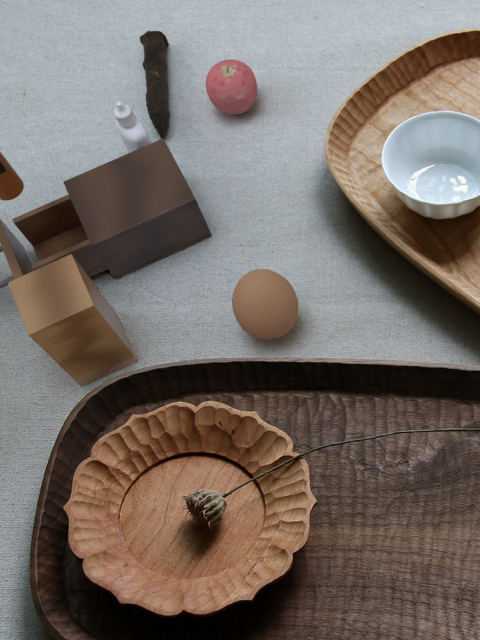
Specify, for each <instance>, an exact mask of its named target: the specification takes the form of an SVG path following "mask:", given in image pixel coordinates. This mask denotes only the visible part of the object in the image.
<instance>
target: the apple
mask: <svg viewBox="0 0 480 640" xmlns="http://www.w3.org/2000/svg"><path fill="white" fill-rule="evenodd" d="M205 90H206V94H207V96H208V99H209V101H210V102H211V103H212V105H214V107H216V108H217V109H218V110H220V111H221V112H223V113H226V114H228V115H240V114H243V113H246V112H247V111H248V110H250V109H251V108H252V106H253V105H254V103H255V102H256V98H257V94H258V83H257V79H256V76H255V74H254V71H253V70H252V68H251V67H250V66H249V65H248V64H247V63H246V62H243V61H241V60H238V59H232V58H231V59H229V58H228V59H223V60H220V61H218V62H217V63H215V64H214V65H213V66H211V68H210V70H209V71H207V75H206V77H205Z"/></svg>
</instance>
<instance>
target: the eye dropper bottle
mask: <svg viewBox="0 0 480 640" xmlns="http://www.w3.org/2000/svg"><path fill="white" fill-rule="evenodd" d="M115 105H116V107H115V108H114V110H113V115H114V117H115V121H114V122H115V123H114V124H115V127H116V130H117V132H118V134H119V135H120V139H122V141H123V143H124V145H125V147H126V149H127V151H128V153H130V152H133V151H135V150H137V149H139V148H142V147H144V146H146V145H149V144H151V143H153V142H154V141H152V138H151V136H150V134H149V132H148V130H147V128H146V126H145V124H144V123H143V121H141V119H140V118H139V117H137V116H135V115H136V114H135V113H134V112H133V109H132V108H131V106H130V105H128V104H126V103H125V104H124V103H122V102H121V101H117V102H116V103H115Z"/></svg>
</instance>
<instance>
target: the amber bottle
mask: <svg viewBox="0 0 480 640" xmlns="http://www.w3.org/2000/svg"><path fill="white" fill-rule="evenodd" d="M0 161H1V162H2V164H3V165H4V166H5V169H6V172H4V173H2V174H0V200H1V201H5V202H6V201H12V200H14V199H17V198H18V197H19V196H20V195H21V194H22V193H23V192H24V189H25V188H24V187H25V184H24V180H22V178H21V177H20V175H19V174H18V173H17V172H16V170H15V169H14V168H13V166H12V165H11V164H10V163H9V161H8V160H7V158H6V157H5V155H4V154H3V153H2V152H1V151H0Z"/></svg>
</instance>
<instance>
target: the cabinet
mask: <svg viewBox="0 0 480 640" xmlns="http://www.w3.org/2000/svg"><path fill="white" fill-rule="evenodd" d="M152 142H153V143H151V144H149V145H146V146H144V147H142V148H139V149H137V150H135V151H133V152H130V153H129V152H128V153H126V154H124V155H121V156H119V157H117V158H114V159H112V160H110V161H107V162H106V163H105V162H104V163H103V164H101V165H98V166H96V167H94V168H92V169H89V170H87V171H84V172H82V173H80V174H77V175H74V176H73V177H71V178H68V179H66V180H64V181H63V185H64V187H65V190H66V192H67V195H68V194H69V196H70V199H71V201H72V203H73V205H74V207H75V210H76V212H77V214H78V216H79V219H80V221H81V223H82V225H83V227H84V230H85V232H86V234H87V236H88V239H89V241H90V243H91V245H92V247H93V248H94V250H95V251H96V252H97V254H98V255H99V257H100V258H101V259H102V261H103V262H104V264H105V265H106V266H107V268H108V269H107V270H108V271H109V272H110V274H111V275H112V277H113V278H114V280H115V281H117V280H119V279H121V278H123V277H126V276H127V275H130V274H132V273H134V272H137V271H139V270H141V269H142V268H145V267H148V266H149V265H152V264H154V263H157V262H158V261H160V260H161V261H162V259H164V258H167V257H169V256H172V255H174V254H176V253H178V252H180V251H182V250H184V249H186V248H189V247H191V246H193V245H195V244H197V243H200V242H202V241H203V240H206V239H209V238H211V237H213V234H212V232H211V230H210V228H209V226H208V223H207V221H206V219H205V217H204V214H203V212H202V210H201V207H200V205H199V204H198V201H197V199H196V197H195V195H194V194H193V192H192V190H191V189H192V188H191V187H190V186H189V184H188V181H187V180H186V178H185V176H184V175H183V172H182V170H181V168H180V166H179V165H178V163H177V161H176V159H175V158H174V155H173V153H172V152H171V149H170V147H169V145H168V144H167V142H166V140H165V139H164V138H162V139H161V138H160V139H157V140H156V141H152Z"/></svg>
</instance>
